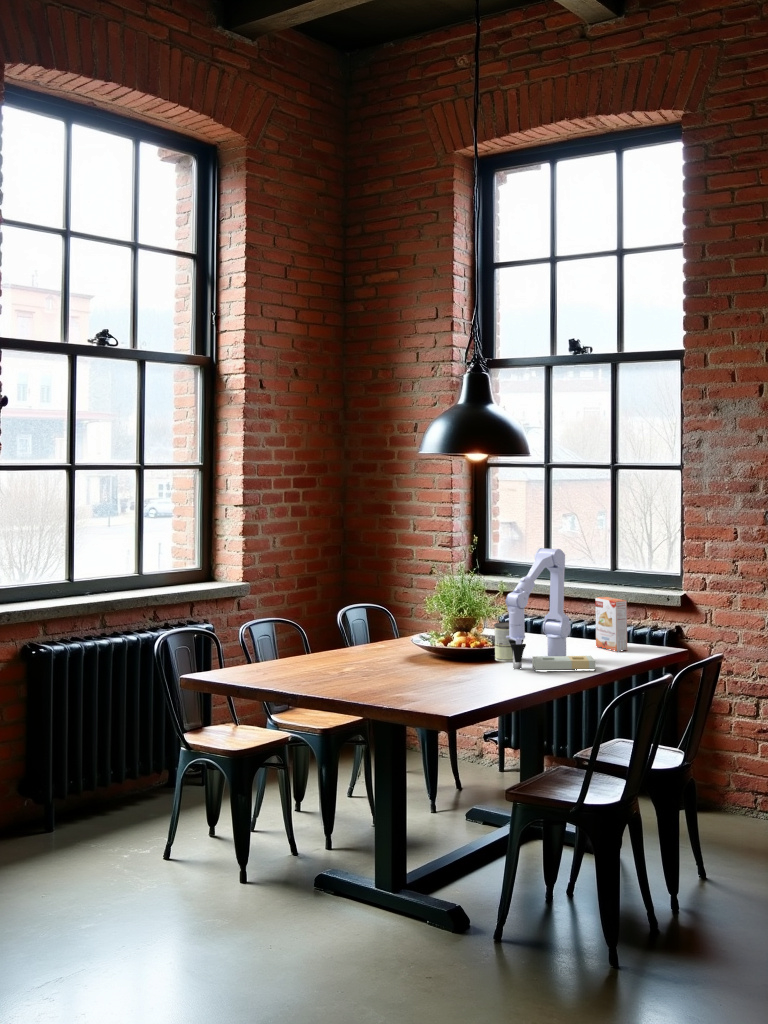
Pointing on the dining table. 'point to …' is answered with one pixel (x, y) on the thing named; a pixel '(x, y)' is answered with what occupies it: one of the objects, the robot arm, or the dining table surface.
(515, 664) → the steel peg
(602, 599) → the cracker box
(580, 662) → the hole block
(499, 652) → the coffee can
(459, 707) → the dining table surface
